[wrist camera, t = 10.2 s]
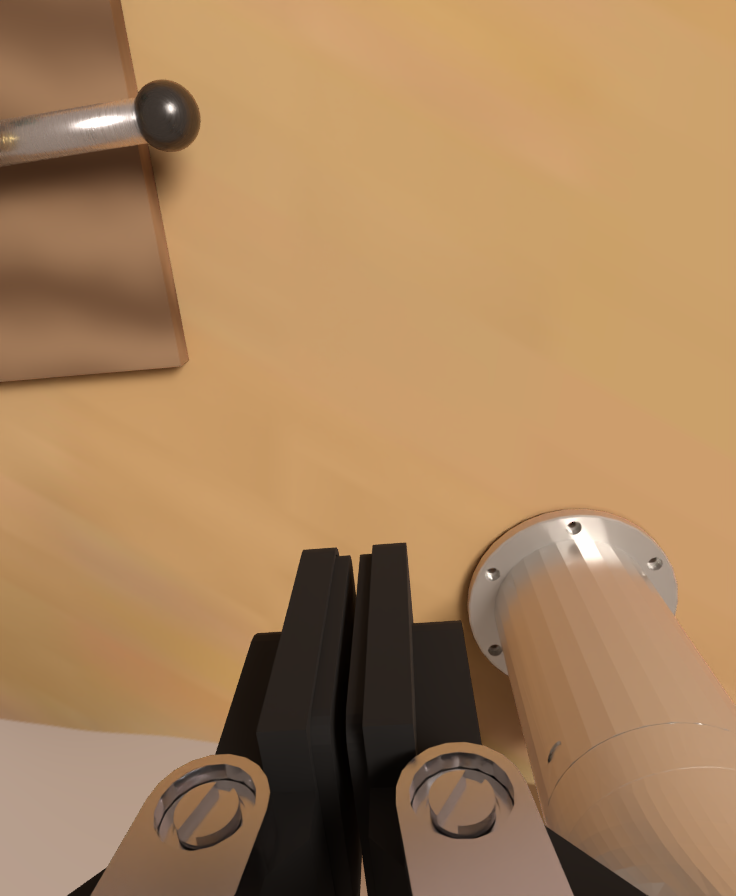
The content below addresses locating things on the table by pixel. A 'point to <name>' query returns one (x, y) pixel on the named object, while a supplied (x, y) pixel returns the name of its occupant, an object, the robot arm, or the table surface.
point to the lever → (104, 126)
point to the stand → (79, 210)
